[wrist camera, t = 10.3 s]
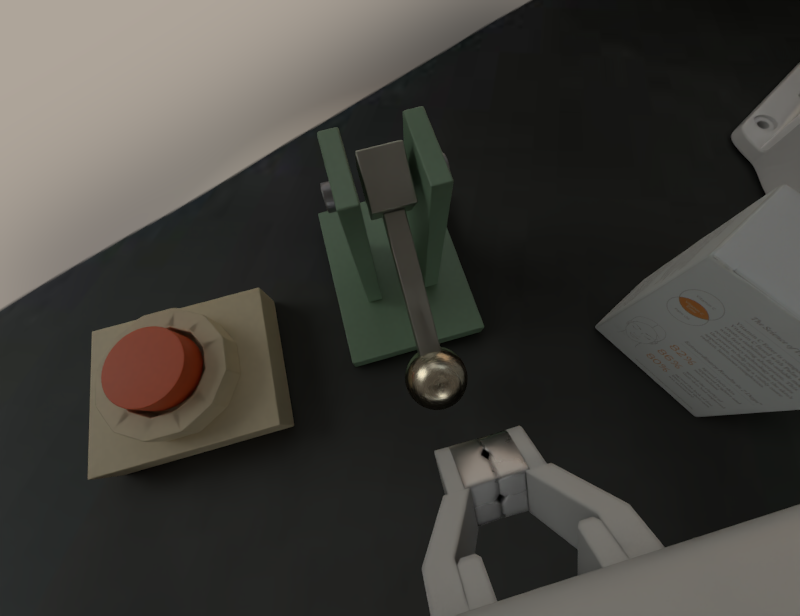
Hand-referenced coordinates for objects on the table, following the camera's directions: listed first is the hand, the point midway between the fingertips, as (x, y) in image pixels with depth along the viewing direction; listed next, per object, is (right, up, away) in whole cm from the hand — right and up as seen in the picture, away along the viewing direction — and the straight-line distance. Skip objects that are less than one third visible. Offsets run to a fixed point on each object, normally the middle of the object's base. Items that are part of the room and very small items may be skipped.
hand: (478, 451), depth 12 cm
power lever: (-2, +6, +7) cm, 10 cm away
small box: (+15, +2, +12) cm, 20 cm away
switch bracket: (-3, +7, +14) cm, 17 cm away
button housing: (-16, 0, +12) cm, 20 cm away
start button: (-16, +1, +8) cm, 18 cm away
